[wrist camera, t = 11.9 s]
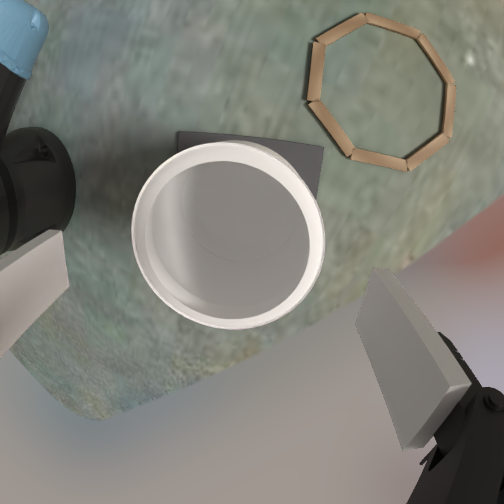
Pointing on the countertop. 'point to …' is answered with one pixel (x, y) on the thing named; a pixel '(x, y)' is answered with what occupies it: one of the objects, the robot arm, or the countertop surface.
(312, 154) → the mat
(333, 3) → the countertop surface
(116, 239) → the countertop surface
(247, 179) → the jar
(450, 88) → the cork ring
